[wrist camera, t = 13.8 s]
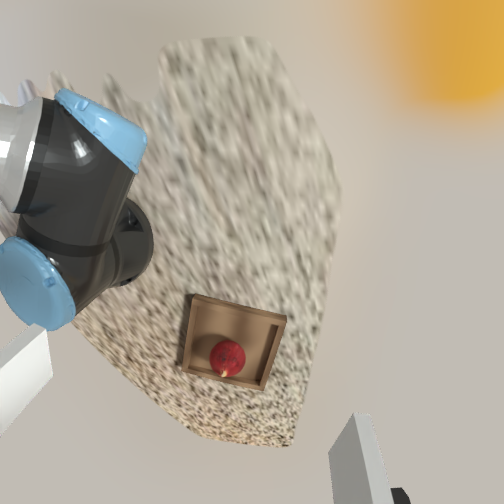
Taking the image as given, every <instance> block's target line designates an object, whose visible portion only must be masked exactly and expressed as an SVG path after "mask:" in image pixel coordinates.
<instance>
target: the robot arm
mask: <svg viewBox="0 0 504 504" xmlns="http://www.w3.org/2000/svg"><path fill="white" fill-rule="evenodd" d="M54 98H55V100H51V99H47V98H43V97H39V96H38V97H36V98H34V99H33V100H31V101H29V102H28V103H26V104H24V105H23V106H21V107H13V106H9V105H4V104H0V199H1V201H2V202H3V204H4V206H5V207H6V209H7V210H8V212H11V213H19V214H20V218H19V223H18V228H17V233H16V235H15V236H12V237H8V238H7V239H6V240H5V241H4V243H2V244H1V245H0V291H1V293H2V295H3V296H4V298H5V300H6V302H7V304H8V305H9V307H10V308H11V309H12V311H13V312H14V313H15V314H16V315H17V316H18V317H19V318H20V319H21V320H22V321H23V322H24V323H26V324H27V325H29V327H28V328H27V329H25V330H24V331H23V332H22V333H20V334H19V335H18V336H17V337H16V338H14V339H13V340H12V341H11V342H9V343H8V344H7V345H6V346H5V347H3V348H2V349H1V350H0V437H1V435H2V434H3V433H4V432H5V431H6V429H7V428H8V427H9V426H10V425H11V423H12V422H13V421H14V420H15V419H16V418H17V416H18V415H19V414H20V413H21V412H22V411H23V409H24V408H25V407H26V406H27V404H28V403H29V402H30V401H31V400H32V399H33V398H34V397H35V396H36V395H37V393H38V392H39V391H40V390H41V389H42V388H43V387H44V386H45V384H46V383H47V382H48V381H49V380H50V379H51V378H52V377H53V371H52V366H51V359H50V353H49V347H48V339H47V331H54V330H57V329H59V328H60V327H62V326H64V325H65V324H67V323H69V322H70V321H72V320H73V319H74V317H75V316H76V315H77V314H78V313H79V312H80V311H82V310H83V309H84V308H85V307H86V306H87V305H88V304H90V303H91V302H92V301H93V300H94V299H95V298H97V297H98V296H99V295H100V294H101V293H102V292H104V291H105V290H106V289H107V288H113V287H119V286H124V285H127V284H129V283H131V282H132V281H134V280H135V279H136V278H138V277H139V276H140V275H141V274H142V273H143V272H144V271H145V270H146V268H147V267H148V265H149V263H150V261H151V258H152V254H153V246H154V242H153V233H152V229H151V226H150V223H149V221H148V219H147V217H146V216H145V214H144V212H143V211H142V210H141V209H140V208H139V206H138V205H136V204H135V203H134V202H133V201H131V200H130V199H128V198H126V197H127V194H128V192H129V189H130V187H131V184H132V182H133V179H134V177H135V175H136V174H138V172H139V169H138V167H139V164H140V162H141V159H142V156H143V154H144V151H145V149H146V146H147V136H146V133H145V132H144V130H143V129H142V128H141V127H139V126H138V125H136V124H134V123H133V122H131V121H129V120H128V119H126V118H124V117H122V116H120V115H119V114H117V113H115V112H113V111H111V110H109V109H107V108H105V107H103V106H102V105H100V104H98V103H96V102H94V101H92V100H90V99H88V98H86V97H84V96H82V95H80V94H77V93H75V92H72V91H70V90H69V89H66V88H62V89H60V90H59V91H58V93H56V94H55V96H54ZM328 453H329V462H330V470H331V480H332V489H333V499H334V504H411V503H410V500H409V497H408V496H407V494H406V493H405V492H404V490H403V489H402V488H390V486H389V481H388V477H387V474H386V470H385V466H384V462H383V459H382V455H381V451H380V448H379V444H378V440H377V437H376V433H375V430H374V426H373V423H372V419H371V416H370V414H362V413H353V414H352V416H351V418H350V419H349V421H348V423H347V424H346V426H345V428H344V429H343V431H342V432H341V434H340V435H339V437H338V438H337V440H336V442H335V443H334V445H333V446H332V448H331V449H330V451H329V452H328Z"/></svg>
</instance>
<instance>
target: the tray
mask: <svg viewBox="0 0 504 504" xmlns="http://www.w3.org/2000/svg"><path fill="white" fill-rule="evenodd" d="M286 323H287V316H286V315H281V314H277V313H273V312H268V311H264V310H260V309H255V308H251V307H247V306H243V305H239V304H235V303H231V302H227V301H223V300H219V299H215V298H211V297H207V296H203V295H199V294H195V295H194V297H193V298H192V304H191V310H190V316H189V323H188V329H187V336H186V342H185V349H184V356H183V363H182V370H181V371H183V372H186V373H190V374H193V375H197V376H201V377H205V378H208V379H212V380H216V381H220V382H224V383H229V384H233V385H237V386H241V387H246V388H251V389H255V390H260V391H264V388H265V385H266V382H267V380H268V377H269V374H270V371H271V368H272V365H273V362H274V359H275V356H276V353H277V350H278V347H279V344H280V341H281V338H282V335H283V332H284V329H285V326H286ZM225 340H231V341H234V342H236V343H238V344H239V345H240V346H241V347H242V348H243V349H244V352H245V355H246V362H245V366H244V367H243V369H242V370H241V372H239V373H238V374H236V375H234V376H230V377H220V376H219V375H218V374H217V373H215V372H214V371H213V370H212V368H211V365H210V361H209V355H210V352H211V350H212V348H213V347H214V346H215V345H216V344H217V343H218V342H221V341H225Z"/></svg>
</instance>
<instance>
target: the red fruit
mask: <svg viewBox="0 0 504 504" xmlns="http://www.w3.org/2000/svg"><path fill="white" fill-rule="evenodd" d="M209 361H210V365H211V368H212V370H213V371H214V372H215V373H217V374H218V375H219V376H220V377H230V376H234V375H236V374H238V373H239V372H241V370H242V369H243V367H244V366H245V362H246V355H245V352H244V349H243V348H242V347H241V346H240V345H239V344H238V343H236V342H234V341H231V340H225V341H221V342H218V343H217V344H216V345H215V346H214V347H213V348H212V350H211V352H210V355H209Z"/></svg>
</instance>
